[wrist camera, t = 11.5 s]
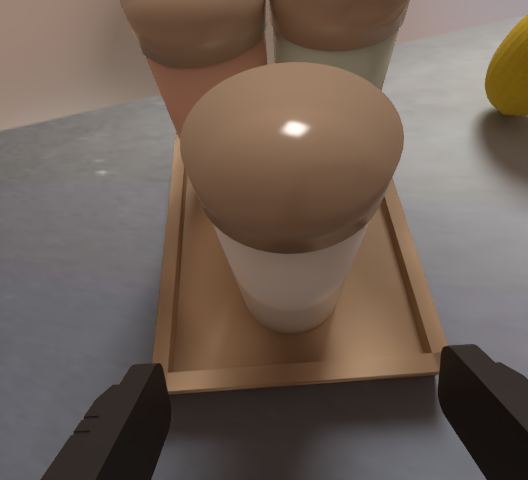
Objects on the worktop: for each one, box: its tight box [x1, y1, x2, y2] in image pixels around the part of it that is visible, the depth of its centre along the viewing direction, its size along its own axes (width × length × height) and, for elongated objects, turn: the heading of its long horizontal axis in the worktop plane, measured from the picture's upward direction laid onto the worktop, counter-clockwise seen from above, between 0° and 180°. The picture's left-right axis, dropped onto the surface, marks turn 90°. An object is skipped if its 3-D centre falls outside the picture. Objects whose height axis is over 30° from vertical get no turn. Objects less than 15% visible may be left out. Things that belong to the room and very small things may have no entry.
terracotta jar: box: [120, 0, 267, 139], centre depth 16 cm, size 5×5×11 cm
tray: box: [152, 133, 448, 395], centre depth 19 cm, size 14×17×2 cm
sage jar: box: [269, 0, 410, 90], centre depth 16 cm, size 5×5×11 cm
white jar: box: [180, 62, 404, 335], centre depth 12 cm, size 5×5×11 cm
